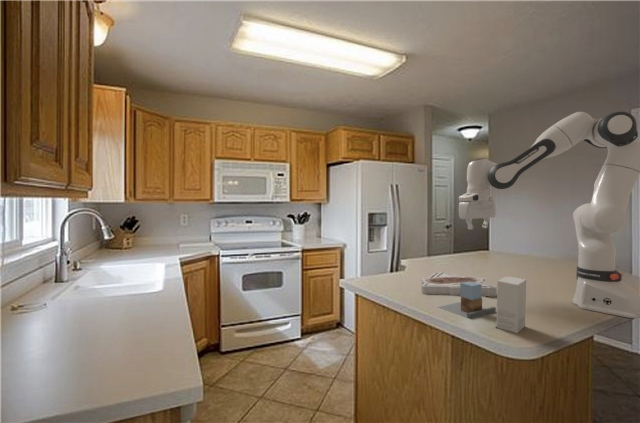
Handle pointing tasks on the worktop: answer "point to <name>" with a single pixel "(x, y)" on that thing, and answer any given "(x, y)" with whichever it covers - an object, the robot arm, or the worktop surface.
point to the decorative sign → (453, 284)
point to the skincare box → (511, 304)
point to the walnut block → (471, 305)
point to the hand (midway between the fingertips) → (477, 228)
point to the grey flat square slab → (457, 310)
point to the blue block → (471, 290)
